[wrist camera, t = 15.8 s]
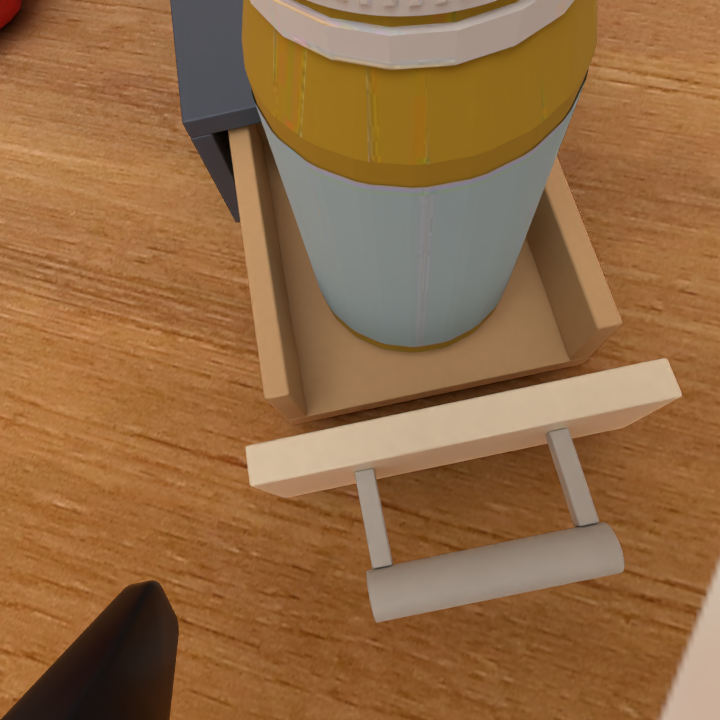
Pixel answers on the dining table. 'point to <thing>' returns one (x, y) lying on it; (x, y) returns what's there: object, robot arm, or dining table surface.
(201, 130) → the cabinet
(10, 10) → the apple
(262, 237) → the drawer
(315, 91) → the bottle
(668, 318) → the dining table surface
